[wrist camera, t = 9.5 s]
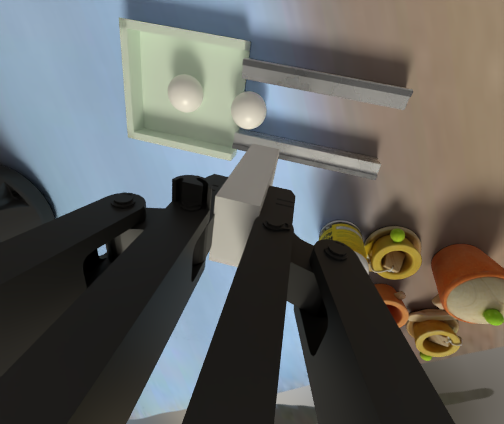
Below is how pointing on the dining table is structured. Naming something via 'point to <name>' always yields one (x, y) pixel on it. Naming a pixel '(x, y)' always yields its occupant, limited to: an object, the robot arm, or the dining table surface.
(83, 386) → the robot arm
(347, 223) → the supplement bottle
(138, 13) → the dining table surface
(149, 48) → the tray
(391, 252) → the toy tea set
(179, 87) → the chip ball
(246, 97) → the chip ball
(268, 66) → the slot rails
